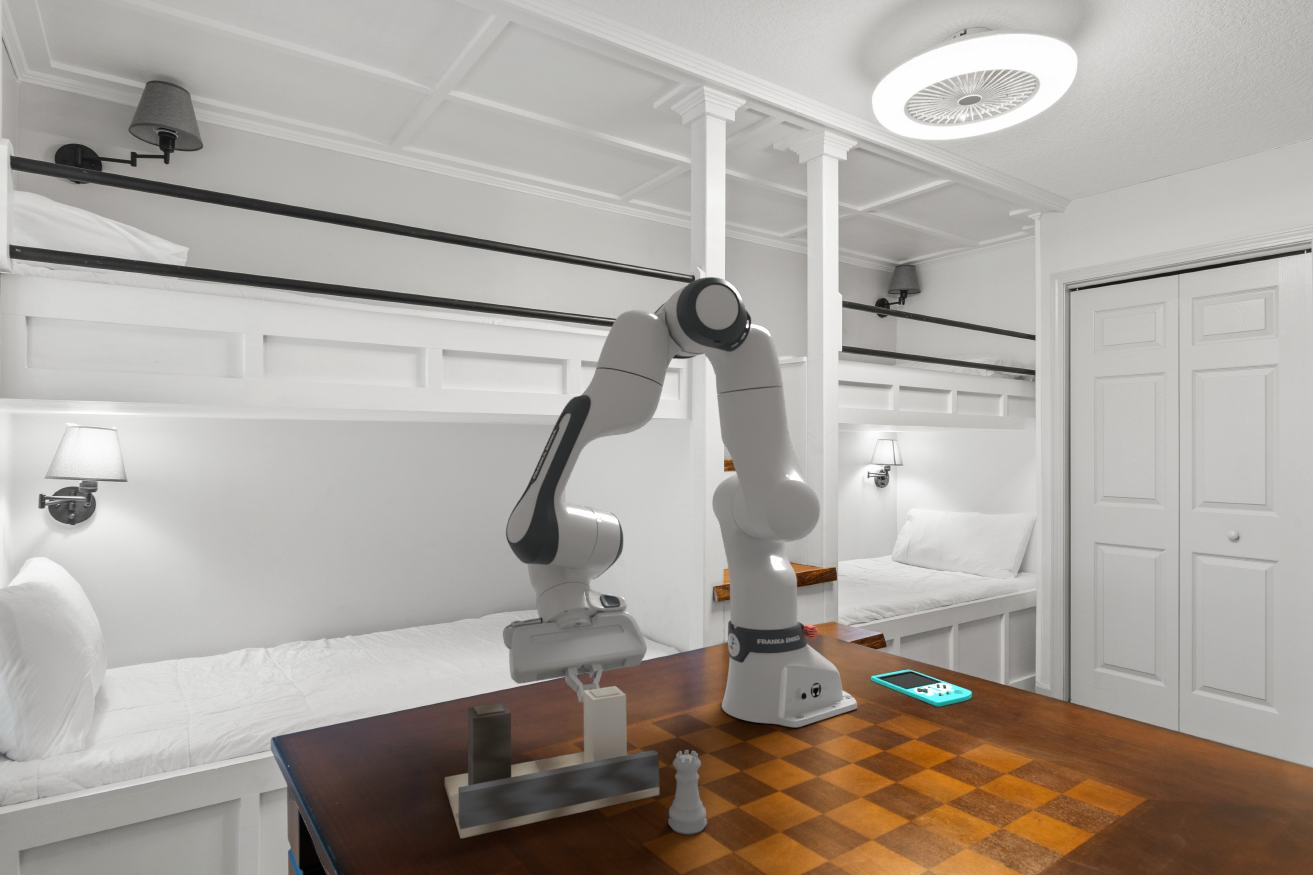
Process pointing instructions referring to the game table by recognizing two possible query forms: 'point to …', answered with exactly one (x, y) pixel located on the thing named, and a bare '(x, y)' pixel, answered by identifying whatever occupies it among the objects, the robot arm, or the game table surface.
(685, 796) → the rook chess piece
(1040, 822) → the game table surface
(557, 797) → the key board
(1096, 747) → the game table surface
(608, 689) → the ivory key
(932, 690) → the handheld game console
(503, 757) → the ebony key
